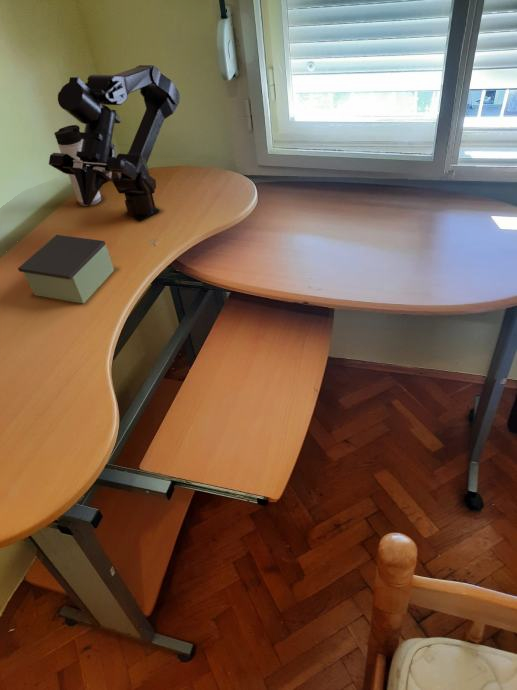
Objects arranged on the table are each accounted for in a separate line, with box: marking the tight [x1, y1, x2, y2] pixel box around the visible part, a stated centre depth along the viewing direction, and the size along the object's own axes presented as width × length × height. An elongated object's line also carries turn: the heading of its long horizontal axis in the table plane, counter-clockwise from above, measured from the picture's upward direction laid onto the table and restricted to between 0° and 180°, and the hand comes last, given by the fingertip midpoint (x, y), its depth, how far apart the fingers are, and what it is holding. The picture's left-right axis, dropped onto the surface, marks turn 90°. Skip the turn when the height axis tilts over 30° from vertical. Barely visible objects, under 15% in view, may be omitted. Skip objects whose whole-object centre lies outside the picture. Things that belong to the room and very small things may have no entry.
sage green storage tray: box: [23, 244, 115, 305], centre depth 100 cm, size 12×12×7 cm
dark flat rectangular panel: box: [17, 234, 106, 280], centre depth 97 cm, size 13×12×1 cm
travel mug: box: [54, 124, 102, 207], centre depth 123 cm, size 6×7×20 cm
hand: (86, 205), depth 101 cm, fingers closed
